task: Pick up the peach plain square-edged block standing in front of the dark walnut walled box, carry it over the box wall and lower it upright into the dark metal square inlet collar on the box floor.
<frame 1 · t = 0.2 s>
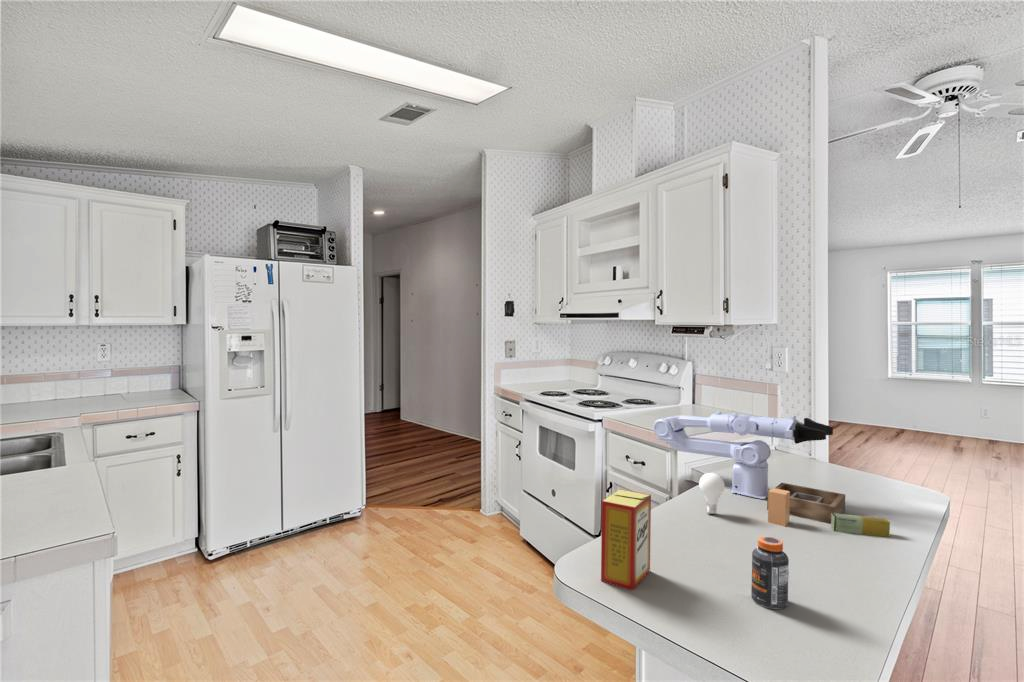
hand: (829, 433, 142), 21 cm above the counter, tool horizontal, fingers open, 7 cm apart
lightbulb: (711, 514, 139), on the counter
walled box: (806, 510, 142), on the counter
medication box: (859, 533, 127), on the counter
pill bottle: (769, 602, 94), on the counter
baking soda box: (625, 577, 103), on the counter
peach plain square-edged block: (778, 522, 133), on the counter
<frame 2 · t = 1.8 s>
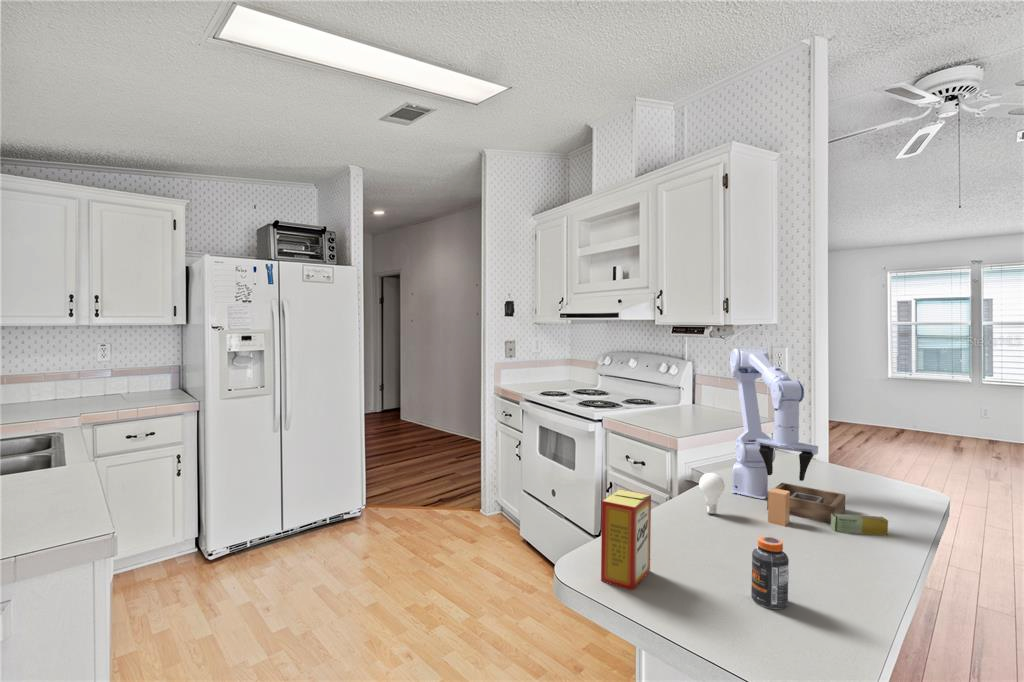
hand: (785, 477, 137), 11 cm above the counter, tool pointing down, fingers open, 7 cm apart
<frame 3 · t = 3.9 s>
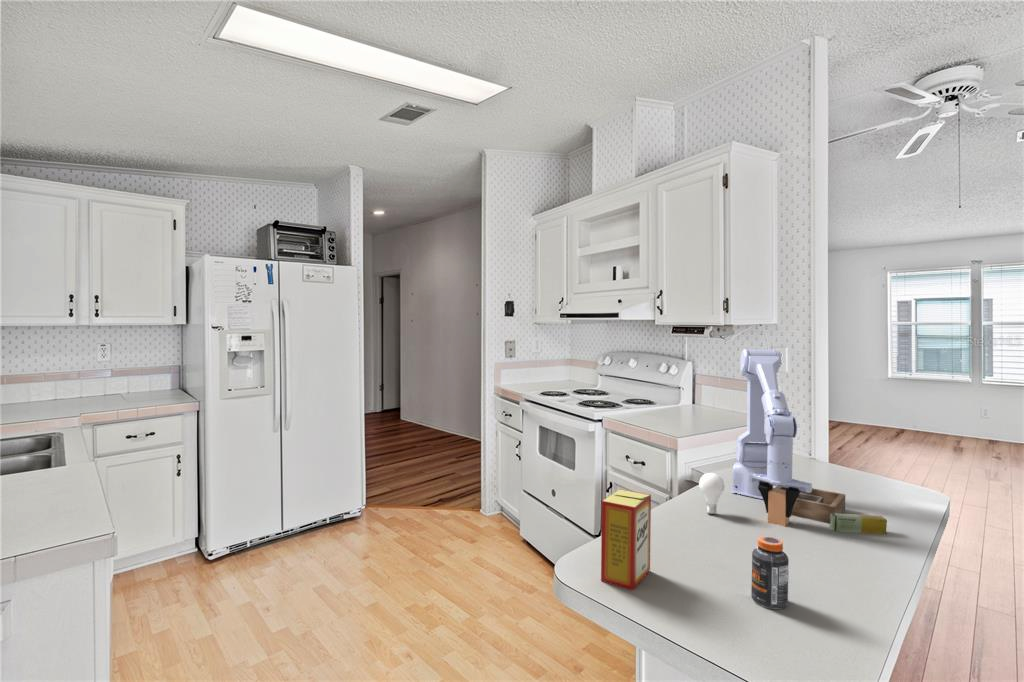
hand: (778, 514, 133), 2 cm above the counter, tool pointing down, fingers closed on peach plain square-edged block, 4 cm apart
peach plain square-edged block: (778, 522, 133), on the counter, touching gripper
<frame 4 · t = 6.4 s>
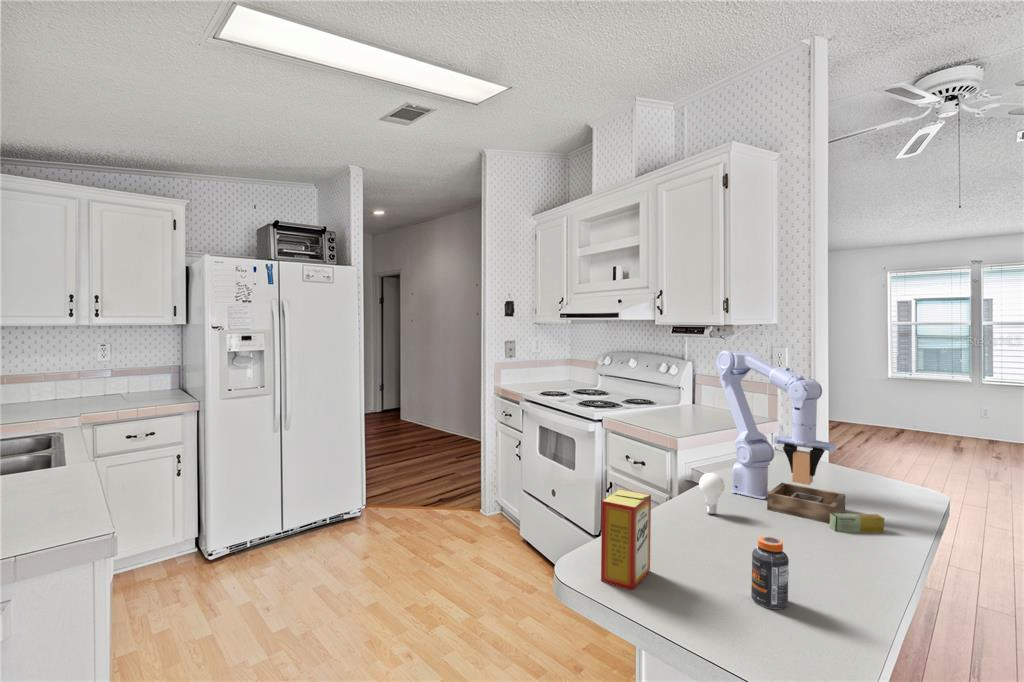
hand: (803, 473, 141), 10 cm above the counter, tool pointing down, fingers closed on peach plain square-edged block, 4 cm apart
peach plain square-edged block: (802, 481, 141), point 8 cm above the counter, touching gripper
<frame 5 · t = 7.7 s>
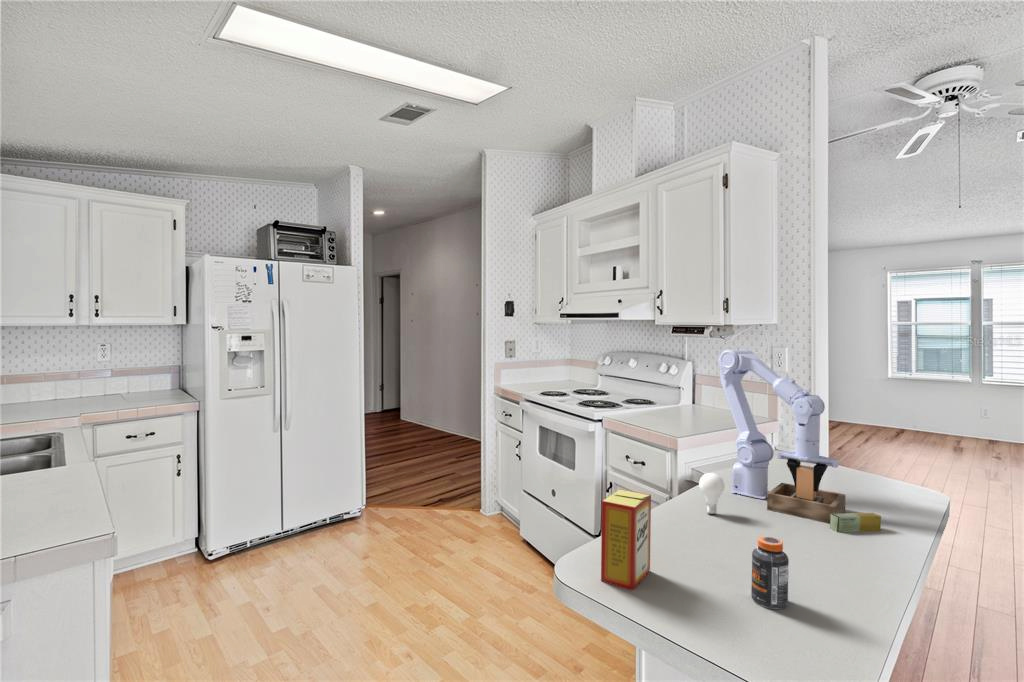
hand: (806, 488, 142), 6 cm above the counter, tool pointing down, fingers closed on peach plain square-edged block, 4 cm apart
peach plain square-edged block: (806, 496, 142), point 4 cm above the counter, touching gripper
when the fingers open (5 cm above the counter, at t = 8.8 s): peach plain square-edged block drops 2 cm, resting on walled box.
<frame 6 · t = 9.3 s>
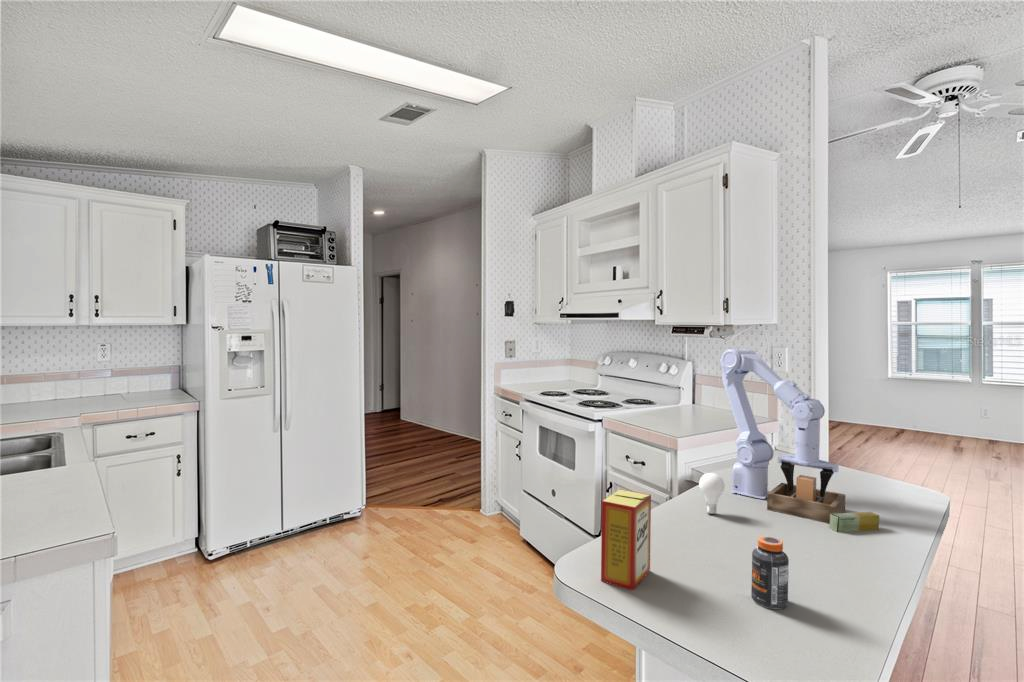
hand: (806, 493, 142), 5 cm above the counter, tool pointing down, fingers open, 7 cm apart
peach plain square-edged block: (805, 506, 142), point 1 cm above the counter, touching walled box
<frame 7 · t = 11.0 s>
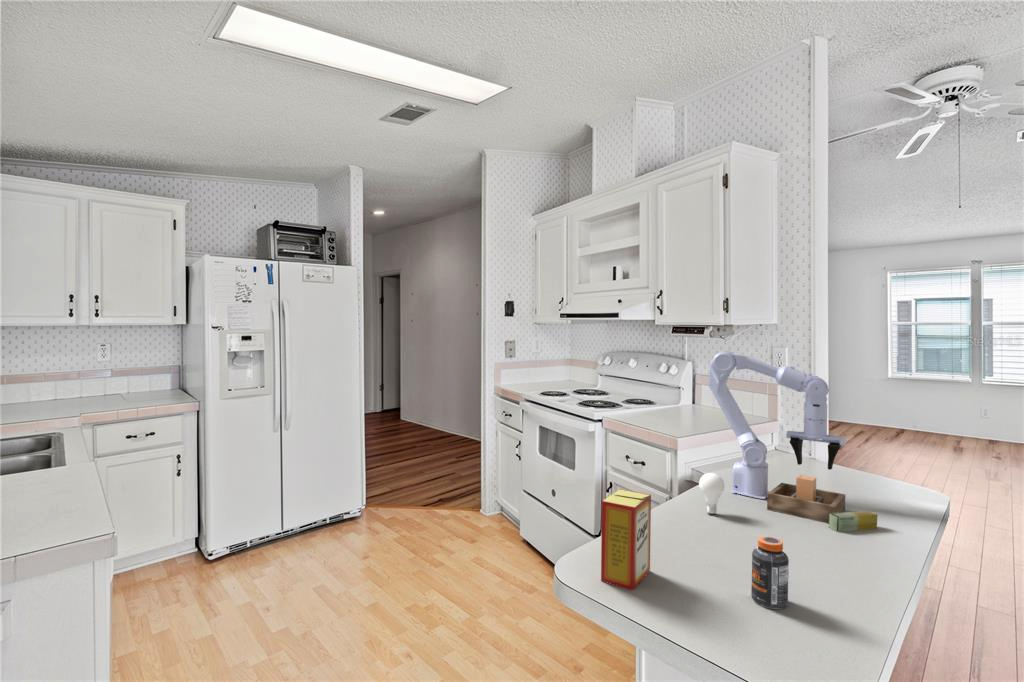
hand: (814, 466, 149), 10 cm above the counter, tool pointing down, fingers open, 7 cm apart
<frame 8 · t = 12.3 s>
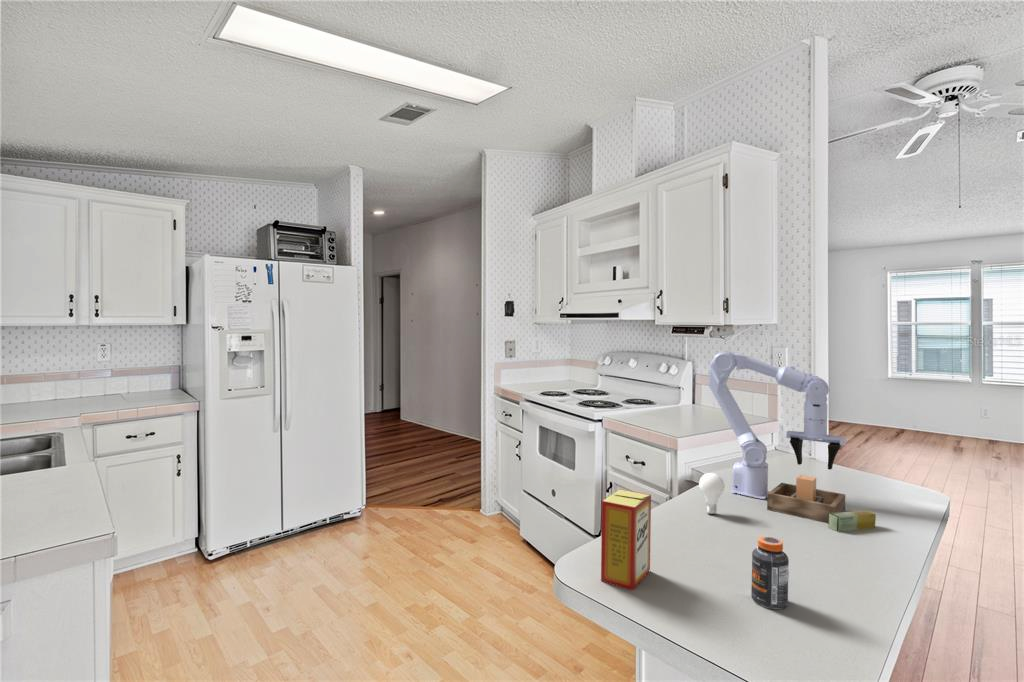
hand: (814, 466, 149), 10 cm above the counter, tool pointing down, fingers open, 7 cm apart
at the end: peach plain square-edged block 0.3 cm off-centre on the walled box, point 1.0 cm above the walled box's base; peach plain square-edged block tilted 0°; the gripper is holding nothing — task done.
